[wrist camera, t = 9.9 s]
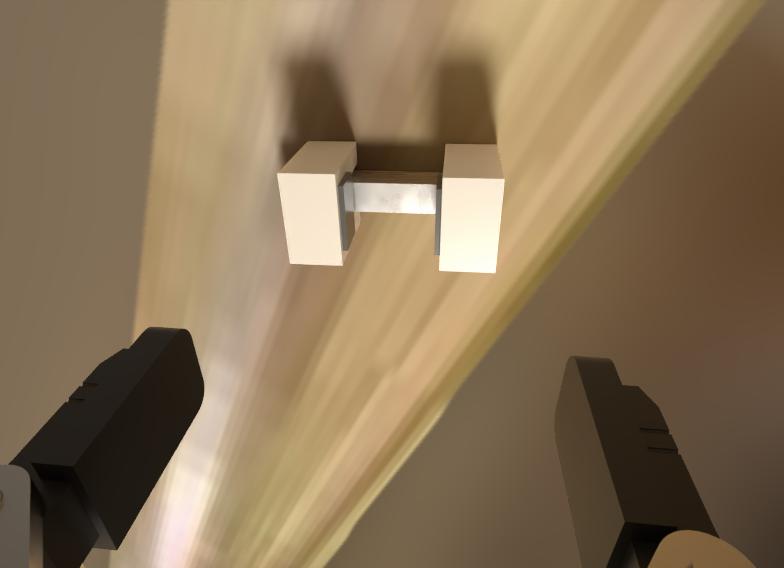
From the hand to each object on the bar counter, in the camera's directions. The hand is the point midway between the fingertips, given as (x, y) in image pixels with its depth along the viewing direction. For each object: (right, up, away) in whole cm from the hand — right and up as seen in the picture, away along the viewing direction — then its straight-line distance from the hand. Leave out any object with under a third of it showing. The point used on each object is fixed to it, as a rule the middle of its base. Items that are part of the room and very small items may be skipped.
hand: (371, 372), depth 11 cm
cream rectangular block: (-4, +10, +32) cm, 34 cm away
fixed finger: (+7, +10, +30) cm, 33 cm away
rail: (0, +10, +31) cm, 33 cm away
